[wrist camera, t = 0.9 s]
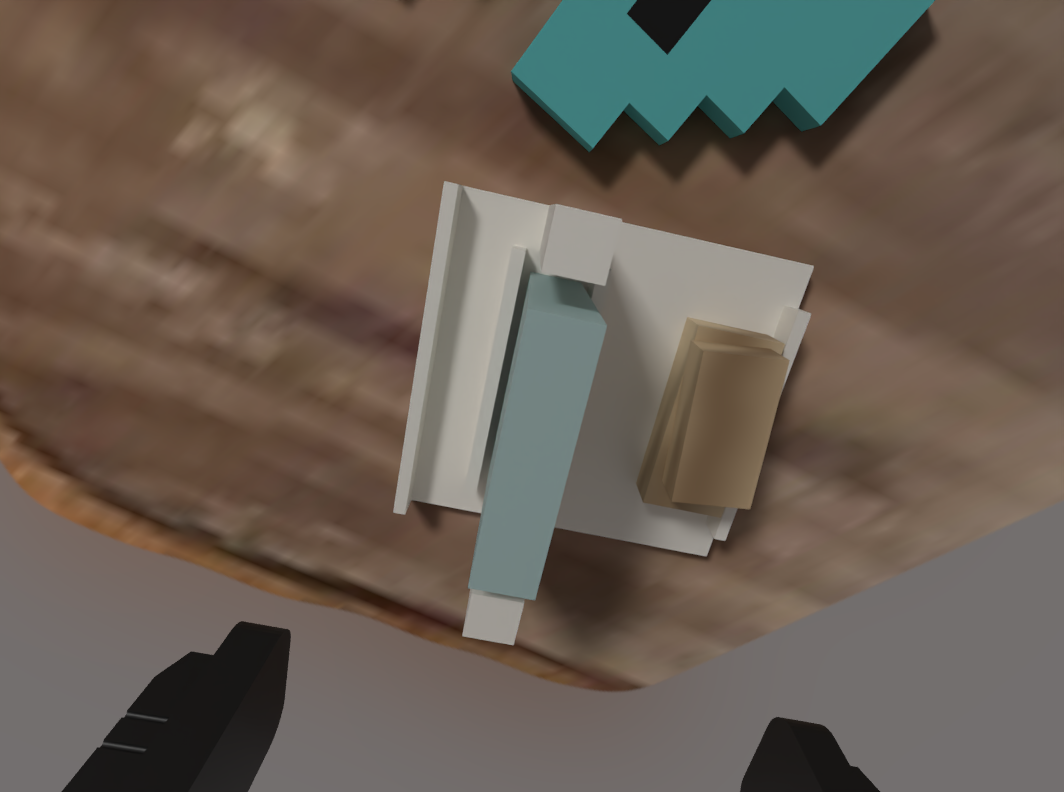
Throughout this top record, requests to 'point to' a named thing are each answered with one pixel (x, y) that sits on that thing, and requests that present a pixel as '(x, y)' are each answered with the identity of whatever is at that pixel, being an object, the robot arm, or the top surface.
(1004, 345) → the top surface
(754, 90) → the alien figure
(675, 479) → the offcut top
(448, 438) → the rack
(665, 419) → the offcut low
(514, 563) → the grey-green square slab
